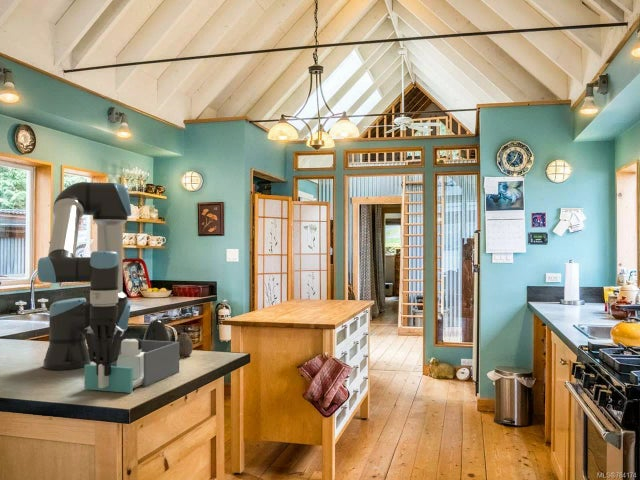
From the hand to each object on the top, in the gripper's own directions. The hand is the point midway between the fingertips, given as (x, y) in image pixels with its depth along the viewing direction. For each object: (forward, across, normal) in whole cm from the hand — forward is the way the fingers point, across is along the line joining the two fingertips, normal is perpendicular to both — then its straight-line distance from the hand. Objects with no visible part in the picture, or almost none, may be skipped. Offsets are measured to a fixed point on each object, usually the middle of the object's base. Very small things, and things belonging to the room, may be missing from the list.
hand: (103, 386), depth 156 cm
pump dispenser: (+2, -9, +42) cm, 43 cm away
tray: (+2, 0, +12) cm, 12 cm away
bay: (+2, 0, +19) cm, 19 cm away
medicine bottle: (+1, 0, +13) cm, 13 cm away
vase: (+2, -4, +53) cm, 53 cm away
